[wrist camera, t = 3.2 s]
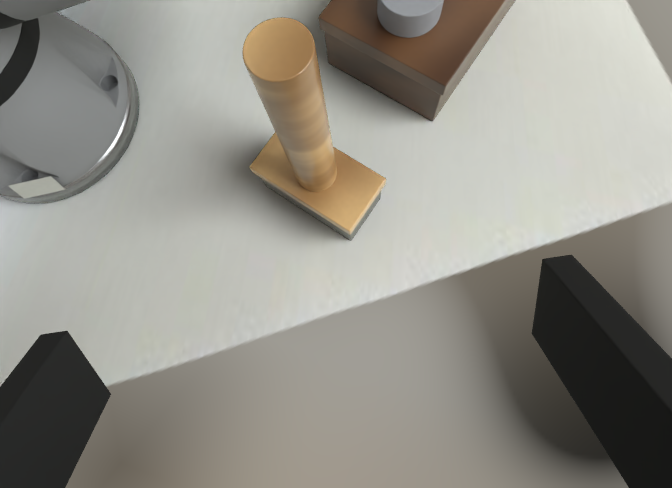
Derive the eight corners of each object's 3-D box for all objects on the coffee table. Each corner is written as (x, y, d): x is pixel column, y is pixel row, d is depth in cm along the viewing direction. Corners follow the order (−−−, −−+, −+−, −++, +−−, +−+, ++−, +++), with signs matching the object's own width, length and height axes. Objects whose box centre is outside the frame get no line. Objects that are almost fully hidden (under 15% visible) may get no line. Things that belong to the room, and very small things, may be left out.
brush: (262, 187, 32) (160, 41, 16) (295, 142, 33) (226, -40, 17) (351, 244, 31) (336, 148, 15) (384, 197, 31) (403, 55, 15)
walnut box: (322, 62, 34) (315, 15, 29) (409, -54, 36) (416, -117, 31) (433, 125, 32) (446, 86, 27) (519, -1, 34) (545, -59, 29)
